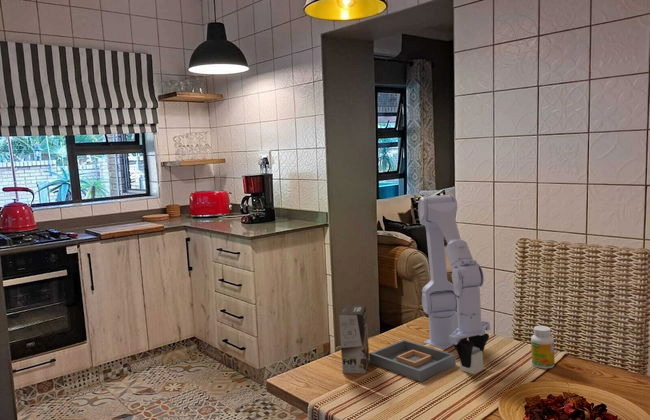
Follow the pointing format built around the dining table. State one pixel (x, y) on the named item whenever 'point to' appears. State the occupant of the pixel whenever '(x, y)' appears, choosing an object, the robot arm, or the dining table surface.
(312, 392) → the dining table surface
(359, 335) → the coffee box
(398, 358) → the inlet socket
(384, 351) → the walled box
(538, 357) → the supplement bottle
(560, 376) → the dining table surface
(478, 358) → the plug block
